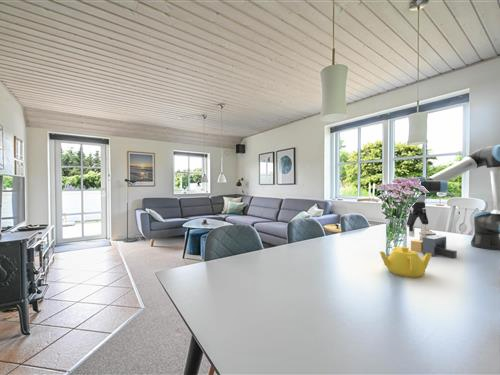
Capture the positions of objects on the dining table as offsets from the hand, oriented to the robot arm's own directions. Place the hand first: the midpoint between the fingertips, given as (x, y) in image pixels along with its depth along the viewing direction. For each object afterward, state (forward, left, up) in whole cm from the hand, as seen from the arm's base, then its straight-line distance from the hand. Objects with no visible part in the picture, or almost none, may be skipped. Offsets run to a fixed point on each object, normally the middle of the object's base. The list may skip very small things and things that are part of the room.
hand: (417, 235), depth 154 cm
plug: (0, +9, -9) cm, 13 cm away
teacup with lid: (-16, -1, -10) cm, 19 cm away
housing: (0, +9, -9) cm, 13 cm away
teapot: (+47, +18, -10) cm, 51 cm away
